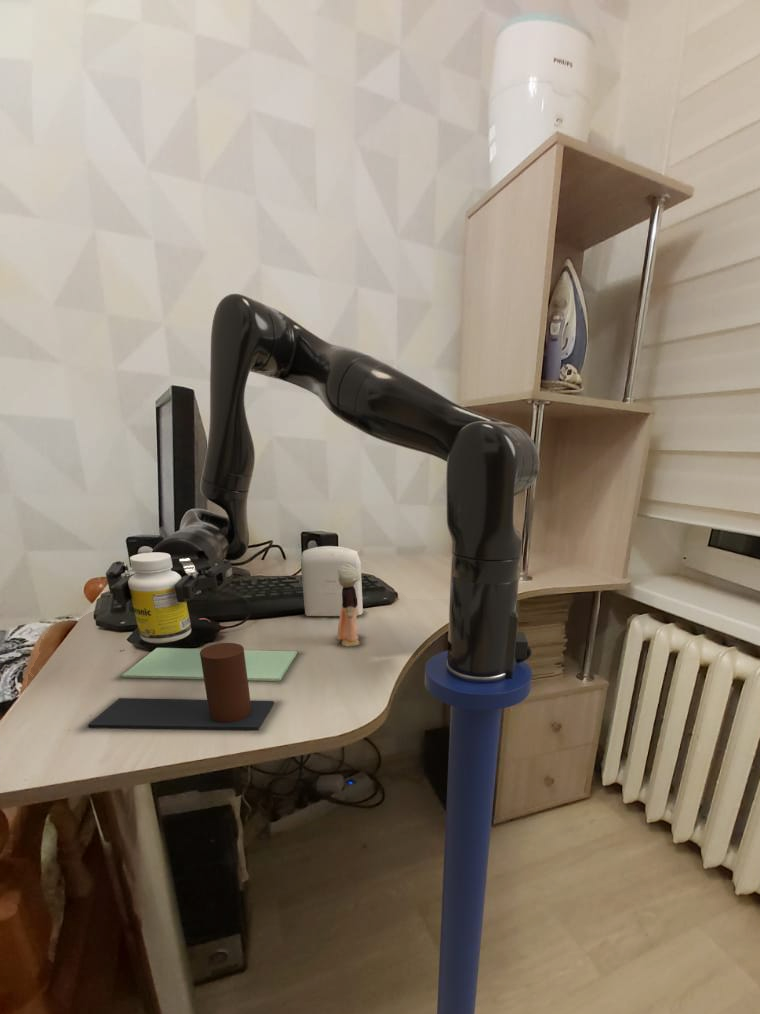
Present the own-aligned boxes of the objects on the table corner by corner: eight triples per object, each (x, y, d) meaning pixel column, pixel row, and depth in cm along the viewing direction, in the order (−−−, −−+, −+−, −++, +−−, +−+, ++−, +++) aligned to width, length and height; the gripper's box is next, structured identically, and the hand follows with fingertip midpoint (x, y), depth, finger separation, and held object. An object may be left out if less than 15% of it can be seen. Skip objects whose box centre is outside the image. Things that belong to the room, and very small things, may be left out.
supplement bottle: (133, 634, 62) (115, 554, 58) (182, 624, 66) (168, 548, 62) (148, 648, 59) (130, 564, 55) (199, 636, 62) (185, 557, 59)
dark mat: (274, 703, 63) (273, 700, 63) (258, 730, 58) (257, 727, 58) (120, 700, 62) (119, 697, 62) (88, 727, 56) (87, 724, 56)
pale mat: (297, 653, 77) (297, 651, 77) (279, 681, 69) (279, 678, 69) (157, 650, 75) (156, 647, 75) (122, 677, 67) (121, 675, 67)
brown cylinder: (256, 703, 62) (249, 643, 59) (243, 723, 58) (235, 659, 55) (218, 703, 62) (209, 642, 59) (203, 722, 58) (192, 657, 55)
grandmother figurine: (334, 634, 85) (330, 559, 80) (357, 632, 86) (355, 558, 81) (341, 653, 78) (338, 572, 73) (367, 650, 80) (365, 571, 75)
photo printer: (302, 617, 91) (297, 548, 86) (306, 609, 95) (301, 543, 90) (362, 618, 93) (360, 550, 88) (363, 610, 97) (361, 544, 92)
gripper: (126, 531, 69) (66, 562, 54) (241, 531, 73) (215, 561, 58) (137, 584, 72) (83, 628, 57) (247, 582, 76) (224, 623, 61)
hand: (150, 594), depth 58 cm, fingers closed on supplement bottle, 5 cm apart
